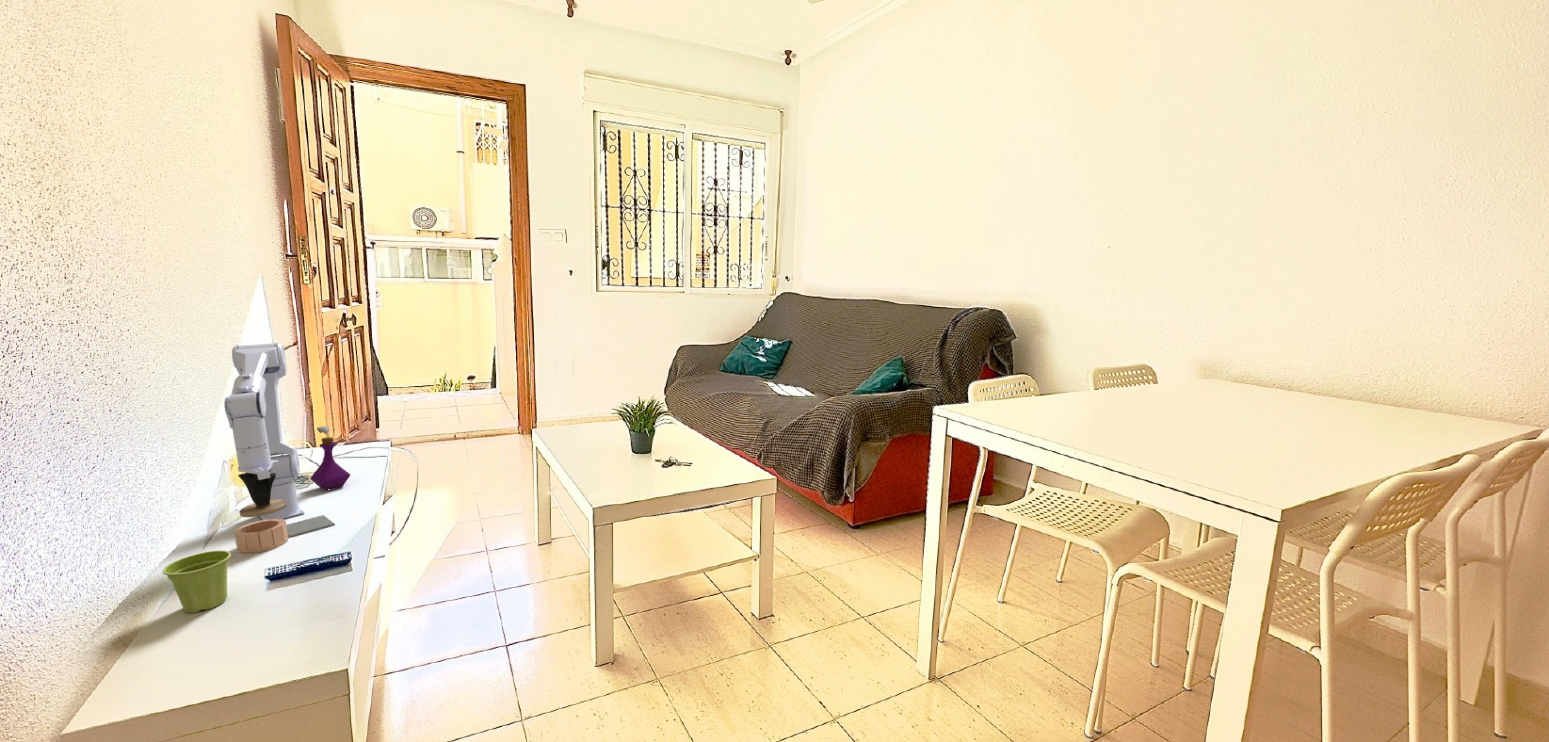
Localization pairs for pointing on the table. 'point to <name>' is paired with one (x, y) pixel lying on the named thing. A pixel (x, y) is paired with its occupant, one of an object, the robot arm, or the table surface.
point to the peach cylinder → (261, 536)
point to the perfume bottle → (329, 466)
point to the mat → (308, 525)
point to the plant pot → (200, 579)
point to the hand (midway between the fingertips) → (261, 503)
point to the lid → (263, 508)
